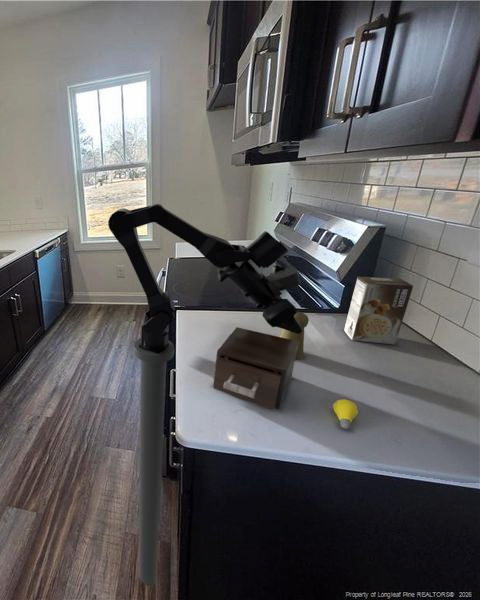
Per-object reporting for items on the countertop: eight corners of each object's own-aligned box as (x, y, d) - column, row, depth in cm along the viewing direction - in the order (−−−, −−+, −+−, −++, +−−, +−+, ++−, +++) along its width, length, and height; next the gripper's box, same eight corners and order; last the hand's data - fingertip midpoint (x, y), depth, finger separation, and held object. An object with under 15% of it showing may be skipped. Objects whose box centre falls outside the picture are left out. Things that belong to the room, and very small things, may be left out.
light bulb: (349, 410, 60) (362, 401, 58) (349, 437, 57) (363, 428, 54) (329, 401, 62) (341, 392, 59) (328, 427, 58) (340, 418, 55)
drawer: (268, 423, 57) (275, 390, 55) (205, 399, 65) (208, 369, 62) (286, 378, 69) (292, 349, 67) (231, 362, 76) (235, 335, 74)
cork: (299, 348, 82) (307, 309, 78) (306, 360, 77) (315, 319, 73) (272, 345, 84) (279, 307, 80) (277, 357, 79) (285, 317, 75)
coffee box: (384, 334, 86) (402, 277, 80) (395, 345, 81) (415, 285, 75) (342, 330, 89) (357, 275, 84) (350, 340, 84) (366, 283, 78)
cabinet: (278, 410, 62) (287, 370, 58) (213, 387, 70) (217, 350, 66) (291, 376, 71) (299, 341, 68) (232, 359, 79) (236, 327, 76)
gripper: (294, 268, 65) (345, 319, 66) (267, 248, 81) (308, 290, 83) (247, 303, 69) (295, 350, 71) (231, 277, 86) (270, 316, 87)
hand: (293, 324), depth 78 cm, fingers open, 9 cm apart
